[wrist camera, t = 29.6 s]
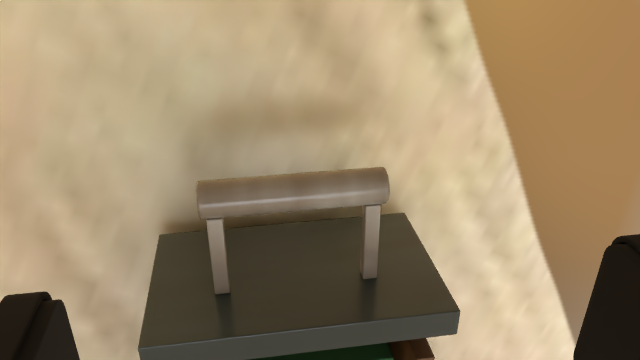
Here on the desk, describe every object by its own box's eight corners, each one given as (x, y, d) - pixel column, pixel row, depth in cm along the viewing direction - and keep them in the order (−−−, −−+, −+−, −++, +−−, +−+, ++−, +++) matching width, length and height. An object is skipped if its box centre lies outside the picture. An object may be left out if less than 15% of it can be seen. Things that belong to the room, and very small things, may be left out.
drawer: (142, 137, 23) (111, 230, 17) (411, 120, 25) (477, 198, 18) (192, 427, 32) (184, 561, 25) (389, 400, 33) (429, 520, 27)
